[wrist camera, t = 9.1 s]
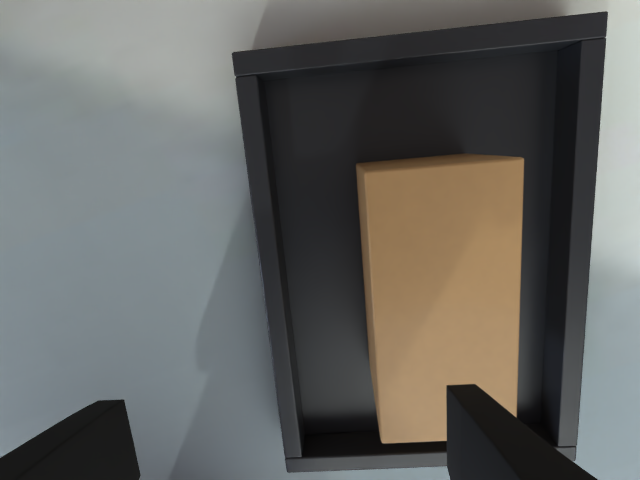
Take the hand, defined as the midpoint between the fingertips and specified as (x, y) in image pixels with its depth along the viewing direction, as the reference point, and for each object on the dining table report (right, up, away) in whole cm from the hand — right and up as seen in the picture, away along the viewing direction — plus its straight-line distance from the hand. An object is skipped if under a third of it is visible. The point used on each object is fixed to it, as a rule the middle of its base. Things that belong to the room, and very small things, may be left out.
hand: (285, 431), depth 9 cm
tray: (+5, +3, +9) cm, 10 cm away
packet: (+5, +3, +8) cm, 10 cm away
